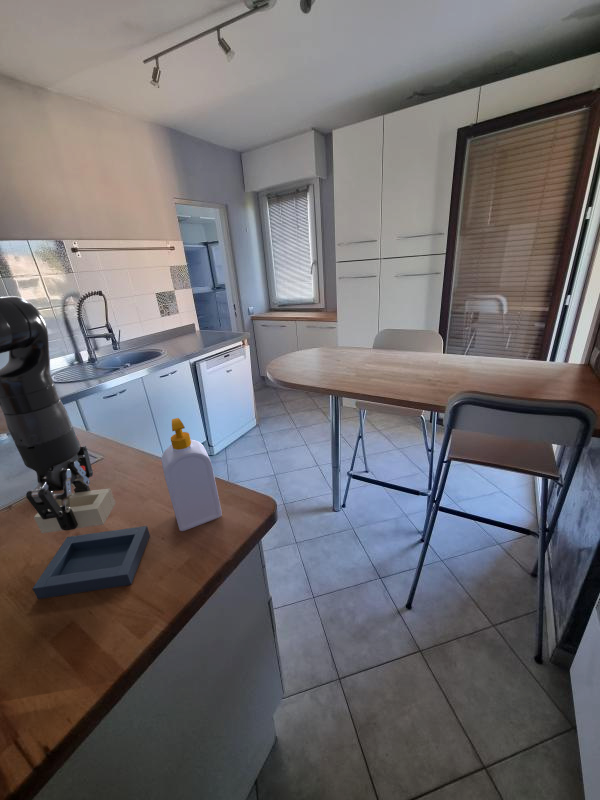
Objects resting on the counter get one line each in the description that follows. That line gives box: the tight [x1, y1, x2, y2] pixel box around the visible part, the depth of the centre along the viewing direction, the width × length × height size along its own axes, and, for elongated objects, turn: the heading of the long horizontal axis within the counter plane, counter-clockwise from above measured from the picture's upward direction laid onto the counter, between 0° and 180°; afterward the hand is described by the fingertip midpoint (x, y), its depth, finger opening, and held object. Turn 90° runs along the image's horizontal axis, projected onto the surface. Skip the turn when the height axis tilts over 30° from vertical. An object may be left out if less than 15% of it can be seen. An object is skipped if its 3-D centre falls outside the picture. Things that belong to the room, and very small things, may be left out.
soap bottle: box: [161, 417, 223, 532], centre depth 69 cm, size 9×7×23 cm
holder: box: [32, 525, 151, 600], centre depth 62 cm, size 16×12×3 cm
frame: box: [33, 487, 116, 534], centre depth 58 cm, size 10×6×4 cm, turn 97°
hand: (79, 515), depth 59 cm, fingers closed on frame, 5 cm apart
